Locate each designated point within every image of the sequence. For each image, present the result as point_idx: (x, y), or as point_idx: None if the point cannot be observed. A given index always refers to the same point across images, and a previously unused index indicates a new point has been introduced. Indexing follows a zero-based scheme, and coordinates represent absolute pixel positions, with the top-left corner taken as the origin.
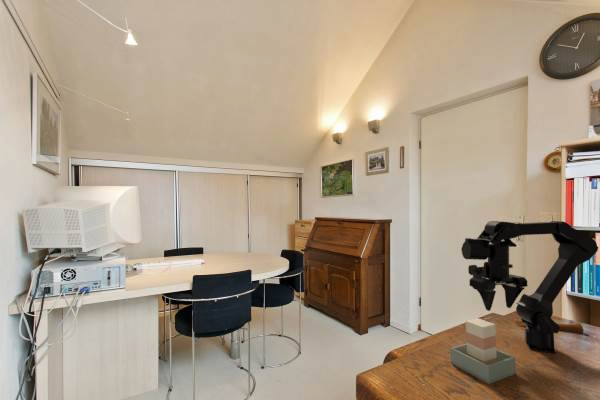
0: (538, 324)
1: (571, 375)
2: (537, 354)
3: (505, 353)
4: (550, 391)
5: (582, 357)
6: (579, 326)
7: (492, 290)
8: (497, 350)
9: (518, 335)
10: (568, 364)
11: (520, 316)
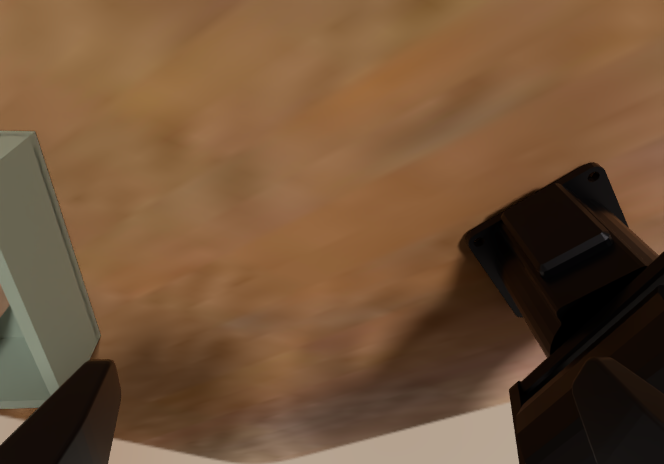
0: (516, 440)
1: (331, 406)
2: (428, 277)
3: (49, 369)
4: (121, 429)
5: None
6: None
7: None
8: (26, 335)
9: None
10: (434, 368)
11: (632, 318)
